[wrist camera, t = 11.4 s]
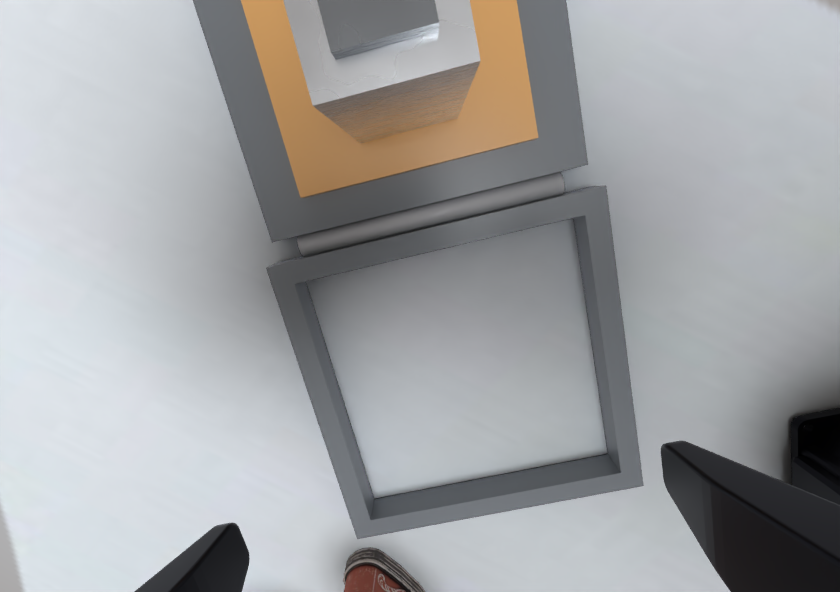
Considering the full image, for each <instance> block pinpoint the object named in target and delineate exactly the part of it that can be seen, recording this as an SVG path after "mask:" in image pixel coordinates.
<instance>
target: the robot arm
mask: <svg viewBox="0 0 840 592" xmlns="http://www.w3.org/2000/svg"><path fill="white" fill-rule="evenodd" d="M661 458H662V468H663V478H664V483H665V486H666V488H667V490H668V492H669V494H670V496H671V497H672V499H673V501H674V502H675V504H676V506H677V507H678V509H679V511H680V512H681V514H682V516H683V517H684V519H685V521H686V522H687V524H688V526H689V527H690V529H691V531H692V532H693V534H694V536H695V537H696V539H697V541H698V542H699V544H700V546H701V547H702V549H703V551H704V552H705V554H706V556H707V557H708V559H709V560H710V562H711V564H712V565H713V567H714V568H715V570H716V571H717V573H718V574H719V576H720V577H721V579H722V580H723V581H724V583H725V584H726V586H727V587H728V588H729V590H730V591H731V592H840V408H837V409H832V410H827V411H822V412H816V413H811V414H806V415H801V416H798V417H796V418H795V419H793V421H792V422H791V465H792V485H790V484H787V483H785V482H782V481H780V480H778V479H775V478H773V477H770V476H768V475H766V474H763V473H761V472H758V471H756V470H753V469H751V468H749V467H746V466H744V465H741V464H739V463H737V462H734V461H732V460H729V459H727V458H725V457H722V456H720V455H717V454H715V453H713V452H710V451H708V450H705V449H703V448H700V447H698V446H696V445H693V444H691V443H688V442H686V441H676V442H671V443H665V444H663V445H662V447H661ZM248 566H249V552H248V549H247V546H246V544H245V541H244V539H243V536H242V534H241V532H240V529H239V527H238V525H237V524H235V523H227V524H222V525H217V526H215V527H213V528H212V529H211V530H210V531H208V532H207V533H206V534H205V535H203V536H202V537H201V538H200V539H199V540H197V541H196V542H195V543H194V544H192V545H191V546H190V547H189V548H188V549H186V550H185V551H184V552H183V553H181V554H180V555H179V556H178V557H176V558H175V559H174V560H173V561H172V562H170V563H169V564H168V565H167V566H165V567H164V568H163V569H162V570H161V571H159V572H158V573H157V574H156V575H154V576H153V577H152V578H151V579H149V580H148V581H147V582H146V583H145V584H143V585H142V586H141V587H140V588H138V589H137V590H136V591H135V592H242V589H243V585H244V581H245V577H246V574H247V570H248Z"/></svg>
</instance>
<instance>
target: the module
mask: <svg viewBox="0 0 840 592" xmlns="http://www.w3.org/2000/svg"><path fill="white" fill-rule="evenodd" d="M283 1H284V5H285V9H286V12H287V16H288V19H289V23H290V26H291V30H292V34H293V37H294V41H295V44H296V48H297V51H298V55H299V59H300V62H301V66H302V69H303V73H304V76H305V80H306V84H307V87H308V91H309V94H310V98H311V101H312V105H313V106H314V107H315V108H316V109H317V110H319V111H320V112H321V113H322V114H324V115H325V116H326V117H328V118H329V119H330V120H331V121H333V122H334V123H335V124H336V125H338V126H339V127H340V128H342V129H343V130H344V131H345V132H347V133H348V134H349V135H350V136H352V137H353V138H354V139H356V140H357V141H358V142H359V143H364V142H368V141H372V140H376V139H380V138H384V137H388V136H391V135H395V134H399V133H403V132H407V131H411V130H415V129H418V128H422V127H426V126H430V125H434V124H438V123H442V122H445V121H449V120H453V119H457V118H458V116H459V114H460V111H461V109H462V106H463V104H464V101H465V99H466V96H467V94H468V91H469V89H470V86H471V84H472V81H473V79H474V76H475V74H476V71H477V69H478V66H479V64H480V61H481V59H480V54H479V48H478V43H477V37H476V32H475V27H474V21H473V16H472V10H471V5H470V0H283Z"/></svg>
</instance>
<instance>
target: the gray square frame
mask: <svg viewBox="0 0 840 592" xmlns="http://www.w3.org/2000/svg"><path fill="white" fill-rule="evenodd" d="M571 218H574V225H575V232H576V239H577V245H578V252H579V259H580V266H581V273H582V280H583V287H584V293H585V300H586V307H587V314H588V321H589V328H590V335H591V341H592V348H593V355H594V362H595V369H596V376H597V382H598V389H599V396H600V403H601V410H602V417H603V424H604V430H605V437H606V444H607V451H608V454H606V455H601V456H596V457H591V458H586V459H580V460H575V461H570V462H565V463H560V464H554V465H549V466H544V467H539V468H534V469H528V470H523V471H518V472H513V473H508V474H502V475H497V476H492V477H487V478H482V479H477V480H471V481H466V482H461V483H456V484H451V485H445V486H440V487H435V488H430V489H425V490H419V491H414V492H409V493H404V494H399V495H394V496H388V497H383V498H378V499H374V497H373V494H372V491H371V487H370V484H369V481H368V478H367V475H366V472H365V468H364V465H363V462H362V459H361V456H360V453H359V449H358V446H357V443H356V440H355V437H354V433H353V430H352V427H351V424H350V421H349V418H348V414H347V411H346V408H345V405H344V402H343V399H342V395H341V392H340V389H339V386H338V383H337V379H336V376H335V373H334V370H333V367H332V364H331V360H330V357H329V354H328V351H327V348H326V345H325V341H324V338H323V335H322V332H321V329H320V326H319V322H318V319H317V316H316V313H315V310H314V306H313V303H312V300H311V297H310V294H309V291H308V287H307V284H306V281H309V280H314V279H318V278H322V277H326V276H331V275H335V274H339V273H343V272H347V271H352V270H356V269H360V268H364V267H369V266H373V265H377V264H381V263H385V262H390V261H394V260H398V259H402V258H407V257H411V256H415V255H419V254H423V253H428V252H432V251H436V250H440V249H445V248H449V247H453V246H457V245H461V244H466V243H470V242H474V241H478V240H483V239H487V238H491V237H495V236H499V235H504V234H508V233H512V232H516V231H521V230H525V229H529V228H533V227H537V226H542V225H546V224H550V223H554V222H559V221H563V220H567V219H571ZM266 269H267V272H268V275H269V278H270V281H271V284H272V287H273V290H274V293H275V296H276V299H277V302H278V305H279V307H280V310H281V313H282V316H283V319H284V322H285V325H286V328H287V331H288V334H289V337H290V340H291V343H292V346H293V349H294V352H295V355H296V358H297V361H298V364H299V367H300V370H301V373H302V376H303V379H304V382H305V385H306V388H307V391H308V394H309V397H310V400H311V403H312V406H313V409H314V412H315V415H316V418H317V421H318V424H319V426H320V429H321V432H322V435H323V438H324V441H325V444H326V447H327V450H328V453H329V456H330V459H331V462H332V465H333V468H334V471H335V474H336V477H337V480H338V483H339V486H340V489H341V492H342V495H343V498H344V501H345V504H346V507H347V510H348V513H349V516H350V519H351V522H352V525H353V528H354V531H355V534H356V537H357V539H360V538H366V537H371V536H376V535H382V534H387V533H393V532H398V531H403V530H409V529H414V528H420V527H425V526H430V525H436V524H441V523H446V522H452V521H457V520H463V519H468V518H473V517H479V516H484V515H489V514H495V513H500V512H506V511H511V510H516V509H522V508H527V507H532V506H538V505H543V504H549V503H554V502H559V501H565V500H570V499H576V498H581V497H586V496H592V495H597V494H602V493H608V492H613V491H619V490H624V489H629V488H635V487H640V486H643V478H642V470H641V462H640V454H639V446H638V438H637V430H636V422H635V414H634V406H633V398H632V390H631V382H630V374H629V366H628V358H627V350H626V342H625V334H624V326H623V318H622V309H621V301H620V293H619V285H618V277H617V269H616V261H615V253H614V245H613V237H612V229H611V221H610V213H609V205H608V197H607V189H606V186H592V187H587V188H583V189H579V190H575V191H571V192H567V193H564V194H562V195H558V196H554V197H550V198H545V199H541V200H537V201H533V202H529V203H525V204H521V205H517V206H512V207H508V208H504V209H500V210H496V211H492V212H488V213H483V214H479V215H475V216H471V217H467V218H463V219H459V220H454V221H450V222H446V223H442V224H438V225H434V226H430V227H425V228H421V229H417V230H413V231H409V232H405V233H401V234H396V235H392V236H388V237H384V238H380V239H376V240H372V241H367V242H363V243H359V244H355V245H351V246H347V247H343V248H338V249H334V250H330V251H326V252H322V253H318V254H314V255H309V256H305V257H304V256H302V257H298V258H294V259H290V260H285V261H281V262H278V263H275V264H273V265H271V266H269V267H267V268H266Z"/></svg>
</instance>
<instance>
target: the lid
mask: <svg viewBox="0 0 840 592" xmlns="http://www.w3.org/2000/svg"><path fill="white" fill-rule="evenodd" d="M193 2H194V5H195V8H196V12H197V15H198V18H199V21H200V24H201V27H202V30H203V33H204V36H205V39H206V42H207V45H208V48H209V51H210V54H211V57H212V60H213V63H214V66H215V70H216V73H217V76H218V79H219V82H220V85H221V88H222V91H223V94H224V97H225V100H226V103H227V106H228V109H229V112H230V115H231V118H232V121H233V124H234V128H235V131H236V134H237V137H238V140H239V143H240V146H241V149H242V152H243V155H244V158H245V161H246V164H247V167H248V170H249V173H250V176H251V179H252V182H253V186H254V189H255V192H256V195H257V198H258V201H259V204H260V207H261V210H262V213H263V216H264V219H265V222H266V225H267V228H268V231H269V234H270V237H271V240H272V242H275V241H280V240H284V239H288V238H292V237H296V236H297V244H298V248H299V251H300V253H301V254H302V256H304V257H305V256H309V255H314V254H318V253H322V252H326V251H330V250H334V249H338V248H343V247H347V246H351V245H355V244H359V243H363V242H367V241H372V240H376V239H380V238H384V237H388V236H392V235H396V234H401V233H405V232H409V231H413V230H417V229H421V228H425V227H430V226H434V225H438V224H442V223H446V222H450V221H454V220H459V219H463V218H467V217H471V216H475V215H479V214H483V213H488V212H492V211H496V210H500V209H504V208H508V207H512V206H517V205H521V204H525V203H529V202H533V201H537V200H541V199H545V198H550V197H554V196H558V195H562V194H564V191H565V184H564V179H563V176H562V174H561V172H560V171H564V170H568V169H573V168H577V167H581V166H585V165H588V161H587V153H586V146H585V138H584V131H583V123H582V116H581V108H580V101H579V93H578V86H577V78H576V71H575V63H574V56H573V48H572V41H571V33H570V26H569V18H568V11H567V3H566V0H470V5H471V10H472V16H473V21H474V27H475V32H476V37H477V43H478V48H479V54H480V59H481V61H480V64H479V66H478V69H477V71H476V74H475V76H474V79H473V81H472V84H471V86H470V89H469V91H468V94H467V96H466V99H465V101H464V104H463V106H462V109H461V111H460V114H459V116H458V118H457V119H453V120H449V121H445V122H442V123H438V124H434V125H430V126H426V127H422V128H418V129H415V130H411V131H407V132H403V133H399V134H395V135H391V136H388V137H384V138H380V139H376V140H372V141H368V142H364V143H359V142H358V141H357V140H356V139H354V138H353V137H352V136H350V135H349V134H348V133H347V132H345V131H344V130H343V129H342V128H340V127H339V126H338V125H336V124H335V123H334V122H333V121H331V120H330V119H329V118H328V117H326V116H325V115H324V114H322V113H321V112H320V111H319V110H317V109H316V108H315V107H314V106H313V105H312V101H311V98H310V94H309V91H308V87H307V84H306V80H305V76H304V73H303V69H302V66H301V62H300V59H299V55H298V51H297V48H296V44H295V41H294V37H293V34H292V30H291V26H290V23H289V19H288V16H287V12H286V9H285V5H284V1H283V0H193Z"/></svg>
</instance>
